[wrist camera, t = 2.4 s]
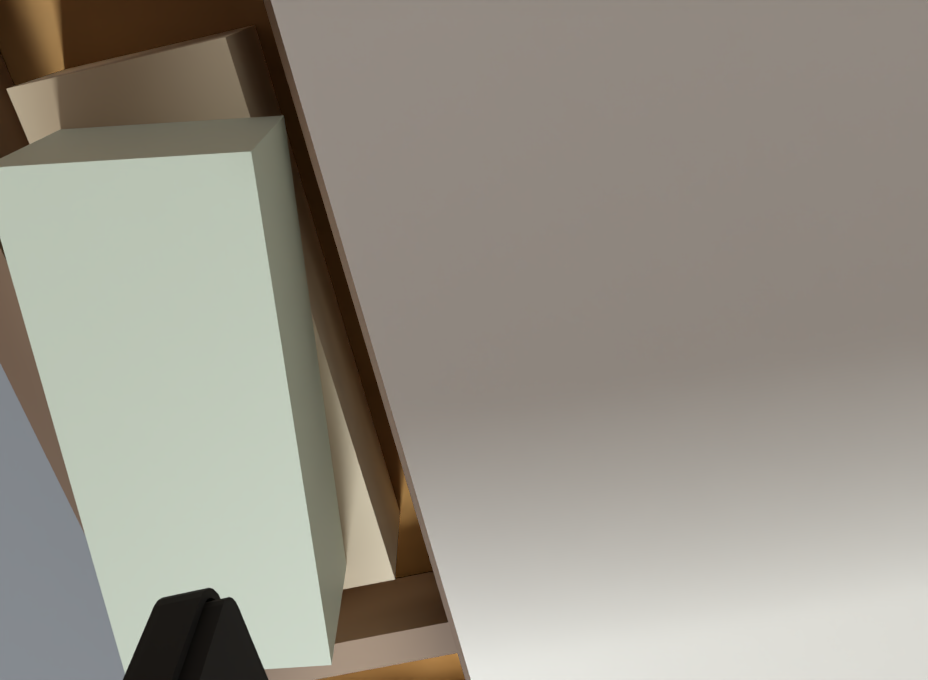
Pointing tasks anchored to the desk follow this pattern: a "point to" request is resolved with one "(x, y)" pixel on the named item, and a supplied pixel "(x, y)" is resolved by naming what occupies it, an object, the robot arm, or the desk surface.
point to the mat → (45, 568)
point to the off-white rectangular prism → (646, 319)
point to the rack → (419, 596)
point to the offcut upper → (183, 370)
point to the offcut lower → (252, 95)
